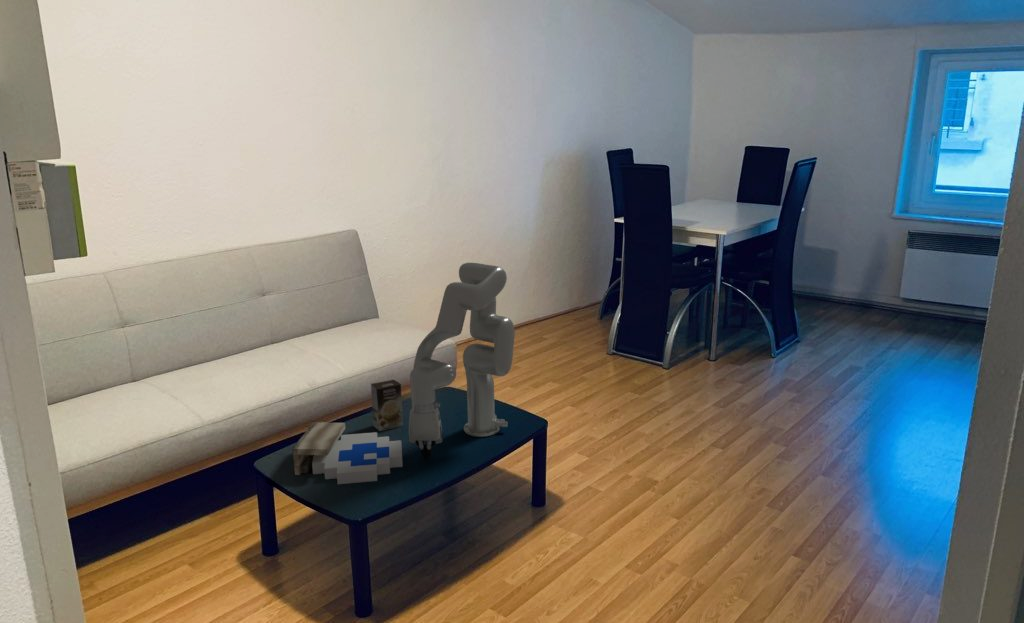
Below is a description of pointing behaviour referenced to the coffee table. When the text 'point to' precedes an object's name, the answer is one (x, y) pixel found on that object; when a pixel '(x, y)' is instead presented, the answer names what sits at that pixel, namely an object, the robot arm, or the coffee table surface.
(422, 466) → the coffee table surface
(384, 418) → the coffee box
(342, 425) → the low shelf
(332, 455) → the pixel art tile
